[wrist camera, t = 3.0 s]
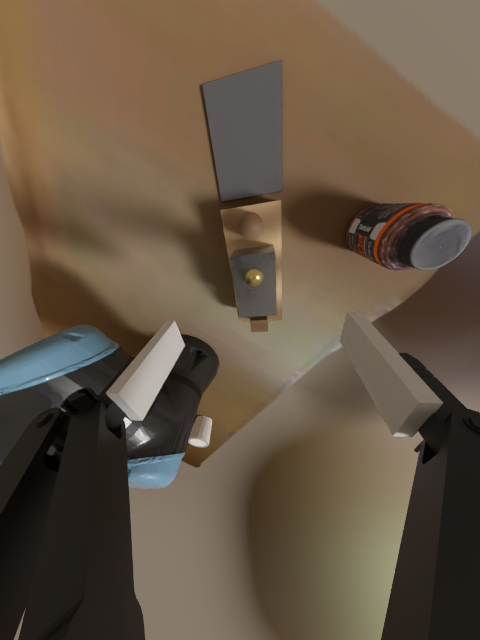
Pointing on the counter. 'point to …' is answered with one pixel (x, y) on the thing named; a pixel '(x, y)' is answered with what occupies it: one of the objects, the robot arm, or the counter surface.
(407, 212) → the supplement bottle
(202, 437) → the white cup
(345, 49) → the counter surface
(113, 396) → the robot arm
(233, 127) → the mat
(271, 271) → the lever cap
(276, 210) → the body
